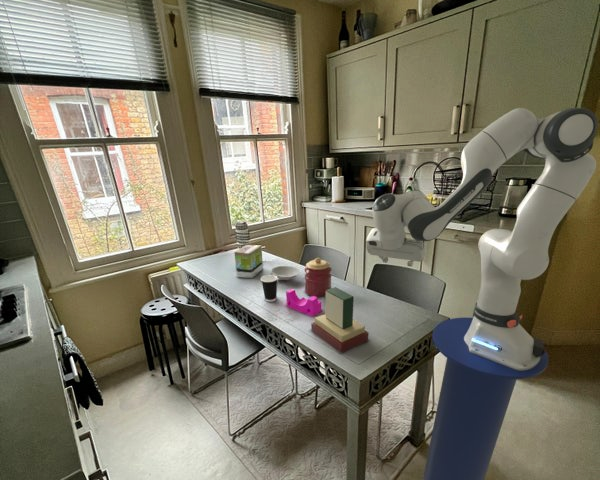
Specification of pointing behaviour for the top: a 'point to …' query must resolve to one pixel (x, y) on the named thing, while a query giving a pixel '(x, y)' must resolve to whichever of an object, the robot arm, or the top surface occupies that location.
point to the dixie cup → (269, 287)
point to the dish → (285, 272)
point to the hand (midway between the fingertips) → (397, 263)
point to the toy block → (303, 303)
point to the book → (339, 307)
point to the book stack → (339, 333)
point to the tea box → (248, 261)
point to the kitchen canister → (317, 277)
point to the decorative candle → (242, 234)
